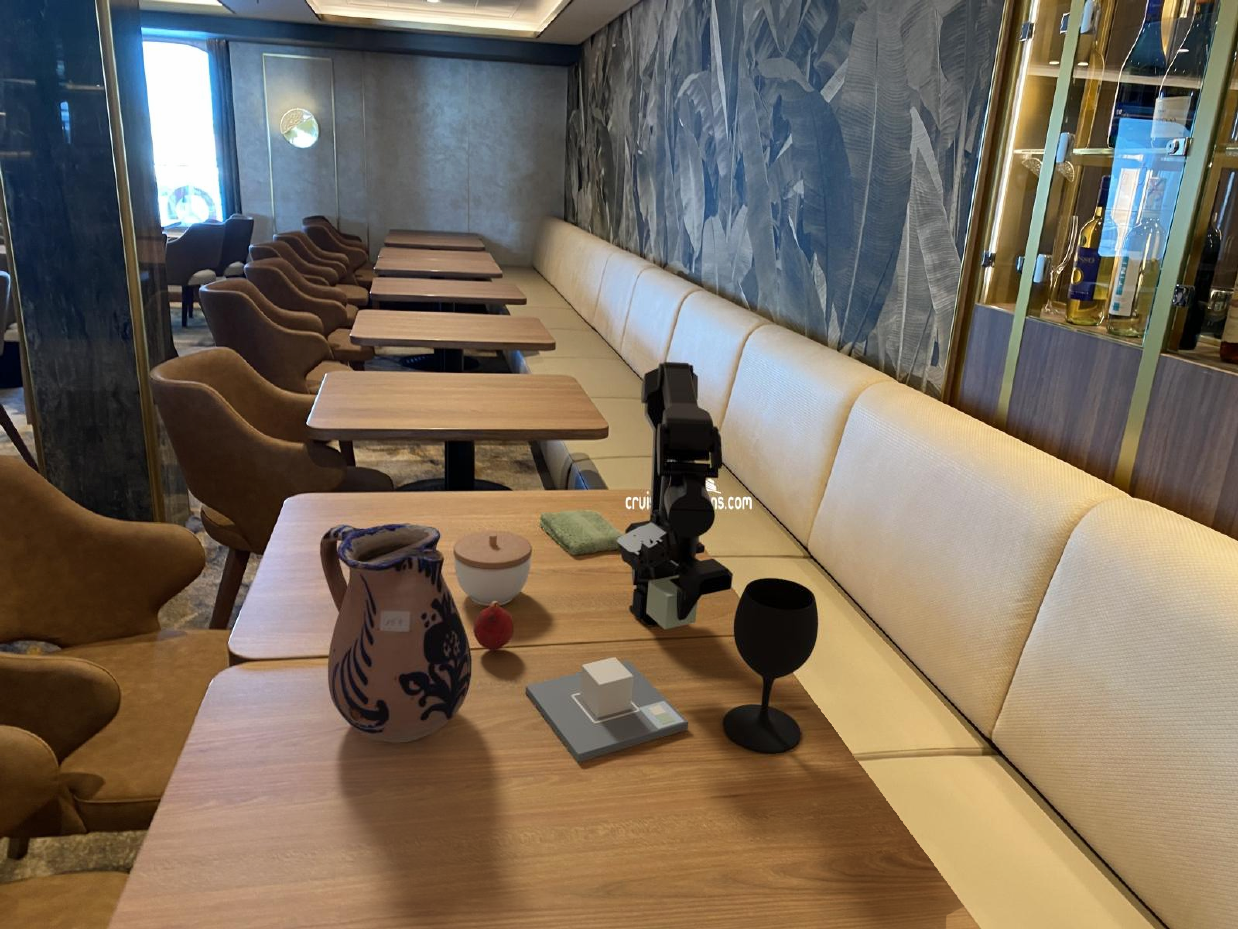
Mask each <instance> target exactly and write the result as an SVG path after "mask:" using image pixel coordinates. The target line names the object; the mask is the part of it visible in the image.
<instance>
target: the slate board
mask: <svg viewBox="0 0 1238 929" xmlns="http://www.w3.org/2000/svg"><path fill="white" fill-rule="evenodd" d="M619 662H620V661H619ZM620 663H621V664H622V665H623V666H624V667H625V668H626V669H627V670H628V671H629V672H630V673H631V674H632V675H633V686H632V699H631V709H628V710H624V711H621V712H617V713H614V714H610V715H606V716H603V717H599V718H597V717H596V716H595V715H594V714H593V712H592V711H591V710H590V709H589V708H588V706H587V705H586V704H585V703H584V702H583V700H582V699H581V698H580V688H581V671H580V672H576V673H571V674H567V675H563V676H560V677H556V678H552V679H548V680H544V681H539V682H536V683H530V684H527V685H525V694H526V696H527V695H528V696H527V697H528V698H529V699H531V700H530V701H531V702H532V703H534V704H533V705H534V706H535V705H536V706H535V707H537V708H538V709H537V708H536V709H537V710H538V712H539V713H540V712H541V713H540V715H541V716H542V715H543V716H544V717H543V716H542V717H543V718H544V720H545V721H546V722H547V724H548V725H549V726H550V727H551V729H552V731H553V732H554V733H555V734H556V736H557V737H558V739H560V741H561V742H562V743H563V745H564V746H565V748H566V749H567V750H568V752H569V753H570V754H571V756H572V757H573V758H574V760H575V761H576V762H577V763H581V762H585V761H587V760H591V759H594V758H598V757H601V756H604V755H608V754H611V753H615V752H619V751H622V750H623V749H624V750H625V749H628V748H631V747H635V746H637V745H638V746H639V745H640V744H641V745H642V744H643V743H648V742H651V741H654V740H657V739H656V738H658V739H660V738H659V737H661V738H663V737H662V736H664V737H667V736H666V735H668V736H671V735H673V733H674V734H676V733H675V732H678V733H681V732H684V731H687V730H686V729H689V721H688V720H687V719H686V717H685V716H684V715H682V714H681V713H680V711H678V709H677V708H676V707H674V706H673V704H672V703H670V701H668V699H667V698H666V697H665V696H664V695H663V694H662V693H660V691H659V690H658V689H656V687H654V685H653V684H652V683H650V681H649V680H648V679H647V678H646V677H645V676H644V675H643V674H642V673H641V672H640V671H639V670H638V669H637V668H636V667H635V666H634V665H633V664H632V663H631V662H630V661H629V660H624V661H621V662H620ZM683 730H684V731H683ZM680 731H681V732H680ZM670 734H671V735H670ZM653 739H654V740H653ZM650 740H651V741H650Z"/></svg>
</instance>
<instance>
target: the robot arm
mask: <svg viewBox="0 0 1238 929" xmlns="http://www.w3.org/2000/svg"><path fill="white" fill-rule="evenodd" d="M698 378H699V376H698V375H697V374H696V373H695V372H694V365H693V364H689V362H674V361H670V362H669V361H664V362H662V363H661V362H660V363H659V364H658V366H657V367H656V368H653V370H649V371H648V372H645V373H644V375H643V379H642V382H641V391H640V393H641V394H640V395H641V396H640V400H641V401H640V402H641V404H644V416H645V419H646V420H647V422H648V424H649V426H650V428H651V429H652V431H653V433H652V434H653V435H652V436H653V438H652V454H651V456H652V457H651V461H652V462H651V479H650V481H651V482H650V485H651V486H650V503H649V505H650V506H649V520H644V521H638V522H637V521H636V522H631V523H630V524H629V525H628V527H627V528H626V529H625V533H624V535H623V536H621V537H619V538H618V540H617V543H618V546H619V552H620V556H621V560H622V562H624V563H626V564H628V565H629V566H630V568H631V580H632V586H635V588H634V589H633V591H632V592H633V593H632V605H629V607H628V609H629V610H630V612H632V613H633V615H635V616H636V617H637V618H638V619H639V620H640V622H641V621H642V622H643V623H644V624H645V625H646V626H647V627H652V626H657V625H659V624H658V623H657V622H656V621H655V620H654V619H653V618H651V617H650V616H649V615H648V614H647V613H646V609H647V596H648V584H649V581H651V580H656V579H661V578H666V577H671V576H676V575H679V577H678V578H673V579H669V580H670V582H672V583H673V584H674V585H675V586H676V587H677V617H678V620H684V619H686V618H687V616H688V615H689V613H690V612H691V610H692V609H693V607H694V606H695V604H696V603H697V604H698V601H699V599H700V598H701V597H702V596H704V595H709V594H715V593H719V592H724V591H726V590H727V591H729V590H731V589H732V585H733V576H734V573H733V572H732V571H731V570H730V569H729V568H728V567H726V566H725V565H723V564H722V563H720V562H719V561H717V560H716V559H715V558H707V559H704V560H700V559H698V558H697V557H696V556H697V554H703V553H705V548H706V547H705V546H706V545H704V544H703V543H702V542H700V536H703V535H704V534H706V533H708V531H709V530H710V529H711V528H712V527H713V525H714V522H715V518H716V512H715V508H714V505H713V502H712V500H711V497H710V495H709V492H708V490H707V479H719V470H721V469H722V467H723V451H722V450H723V449H722V436H721V434H720V433H719V428H718V426H716V425H714V421H713V419H712V416H711V414H710V412H709V411H708V410H705V409H703V408H702V407H700V406H699V404H698V399H699V393H698V392H699V391H698V390H699V379H698ZM696 461H697V462H696ZM709 461H710V463H703V462H709Z"/></svg>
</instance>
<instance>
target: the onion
mask: <svg viewBox="0 0 1238 929" xmlns="http://www.w3.org/2000/svg"><path fill="white" fill-rule="evenodd" d="M499 604H500V603H499V602H498V601H493V602H492V603H491V605H490V606H487V607H486V608H485V609H483V610H482V611H481V612H479V614H478V615H477V616H476V617H475V621H474V625H473V636H474V637H475V639H476V641H477V643H478V644H479V645H480V646H481V647H483V648H485V649H487V650H489V651H492V652H495V651H498V650H500V649H501V648H503V647H504V646H506V645H507V644H508V643H509V642H510V641H511V639H512V637H513V635H514V631H515V629H514V628H515V627H514V626H515V625H514V620H513V617H512V615H511V614H510V613H509V612H508V611H507V610H505V608H503V607H501V606H500V605H499Z"/></svg>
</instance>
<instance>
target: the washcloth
mask: <svg viewBox="0 0 1238 929" xmlns="http://www.w3.org/2000/svg"><path fill="white" fill-rule="evenodd" d="M539 519H540V521H539V524H540V525H539V527H540V526H541V527H542V528H544V530H545V531H546V532H545V533H546V534H547V533H548V534H549V537H551V539H552V538H553V539H552V540H554V541H555V543H557V544H558V546H560V547H561V548H562V549H563V550H564V551H565V550H566V552H567V551H568V552H567V554H569V555H570V554H571V555H572V556H578V554H579V555H583V554H584V555H585V554H595V553H596V552H604V551H607V552H610V551H616V550H619V546H618V543H617V540H618V538H619V537H621V536H623V535H625V533H623V532H622V531H621V530H619V529H617V528H616V527H615V526H614V525H613V524H612V523H611V521H609V520H607V519H606V518H605V517H604V516H603V515H602V514H601V513H600V512H598V511H597V510H592V509H585V510H561V511H559V512H554V513H553V512H552V513H551V512H542V513H541V514H540V518H539ZM541 527H540V528H541ZM542 528H541V529H542ZM544 530H543V531H544ZM548 534H547V535H548ZM619 551H620V550H619ZM571 555H570V556H571Z"/></svg>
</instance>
